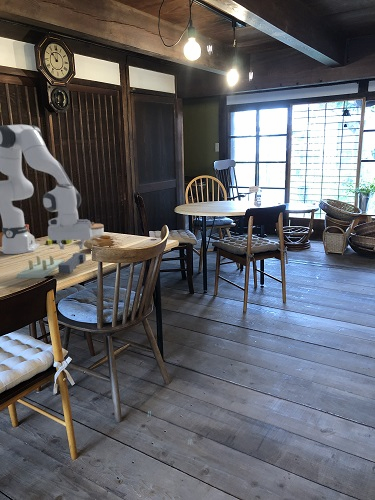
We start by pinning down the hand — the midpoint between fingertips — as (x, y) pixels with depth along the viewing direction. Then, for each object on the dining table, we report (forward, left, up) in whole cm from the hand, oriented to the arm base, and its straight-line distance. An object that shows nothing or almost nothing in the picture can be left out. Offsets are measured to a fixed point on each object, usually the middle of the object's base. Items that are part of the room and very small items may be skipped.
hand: (71, 248), depth 189 cm
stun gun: (-55, -28, -10) cm, 62 cm away
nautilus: (-34, +4, -9) cm, 36 cm away
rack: (+5, -13, -9) cm, 17 cm away
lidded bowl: (-56, -8, -9) cm, 58 cm away
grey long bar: (0, 0, -9) cm, 9 cm away
